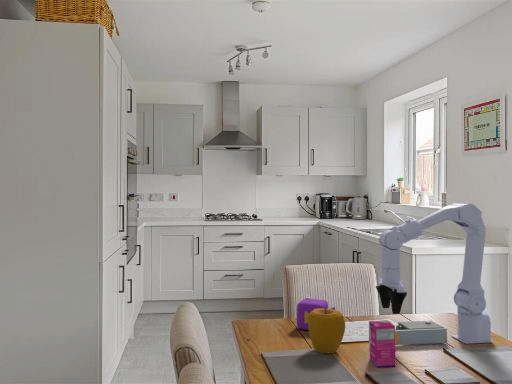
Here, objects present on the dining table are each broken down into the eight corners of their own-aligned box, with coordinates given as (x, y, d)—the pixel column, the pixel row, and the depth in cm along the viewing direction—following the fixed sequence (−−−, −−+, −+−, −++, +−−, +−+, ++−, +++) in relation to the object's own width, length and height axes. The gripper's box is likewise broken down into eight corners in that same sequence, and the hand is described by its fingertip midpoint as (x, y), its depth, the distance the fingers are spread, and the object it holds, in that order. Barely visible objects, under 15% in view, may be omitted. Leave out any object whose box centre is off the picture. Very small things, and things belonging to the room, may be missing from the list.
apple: (347, 347, 148) (347, 305, 148) (341, 358, 138) (341, 313, 138) (312, 343, 152) (312, 302, 152) (304, 354, 142) (304, 310, 142)
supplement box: (368, 360, 136) (368, 320, 137) (388, 360, 137) (388, 319, 137) (374, 368, 131) (375, 325, 131) (396, 367, 131) (396, 325, 131)
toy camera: (336, 334, 163) (336, 304, 163) (295, 331, 165) (295, 302, 165) (337, 325, 173) (337, 297, 173) (299, 323, 176) (299, 295, 176)
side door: (445, 341, 153) (445, 328, 153) (448, 343, 151) (448, 329, 151) (390, 344, 150) (390, 330, 150) (392, 345, 148) (392, 331, 148)
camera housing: (431, 335, 161) (431, 318, 161) (443, 343, 153) (443, 325, 153) (394, 337, 159) (394, 320, 159) (405, 344, 151) (406, 326, 151)
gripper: (370, 265, 161) (370, 305, 161) (388, 272, 147) (388, 317, 146) (390, 264, 162) (390, 305, 162) (410, 271, 148) (410, 316, 148)
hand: (390, 310), depth 154 cm, fingers open, 7 cm apart
